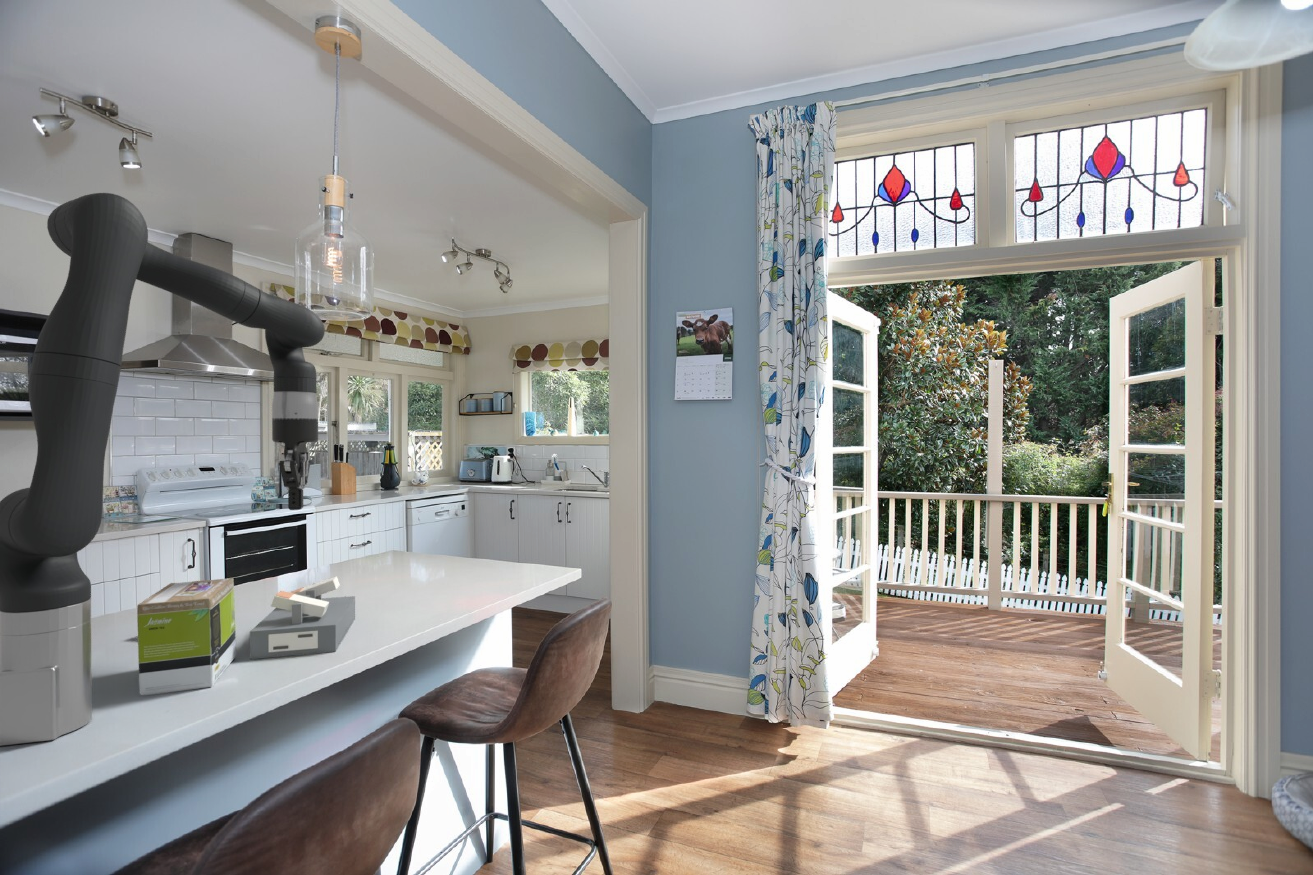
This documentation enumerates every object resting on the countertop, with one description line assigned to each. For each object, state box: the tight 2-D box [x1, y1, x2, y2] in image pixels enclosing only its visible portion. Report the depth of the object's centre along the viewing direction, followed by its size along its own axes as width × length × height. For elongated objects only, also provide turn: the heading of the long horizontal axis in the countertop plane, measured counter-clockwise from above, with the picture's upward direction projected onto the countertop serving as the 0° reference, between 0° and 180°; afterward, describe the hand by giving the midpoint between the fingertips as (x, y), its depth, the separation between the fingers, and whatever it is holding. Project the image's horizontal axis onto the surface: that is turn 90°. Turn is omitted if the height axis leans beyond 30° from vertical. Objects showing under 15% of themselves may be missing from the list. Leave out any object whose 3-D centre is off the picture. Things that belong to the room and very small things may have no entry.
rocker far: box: [290, 575, 341, 597], centre depth 133 cm, size 5×9×2 cm, turn 107°
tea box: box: [136, 577, 237, 697], centre depth 108 cm, size 15×10×15 cm, turn 21°
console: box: [249, 582, 356, 660], centre depth 128 cm, size 22×14×9 cm, turn 17°
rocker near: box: [270, 590, 329, 617], centre depth 123 cm, size 5×9×2 cm, turn 107°
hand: (295, 509), depth 120 cm, fingers closed
